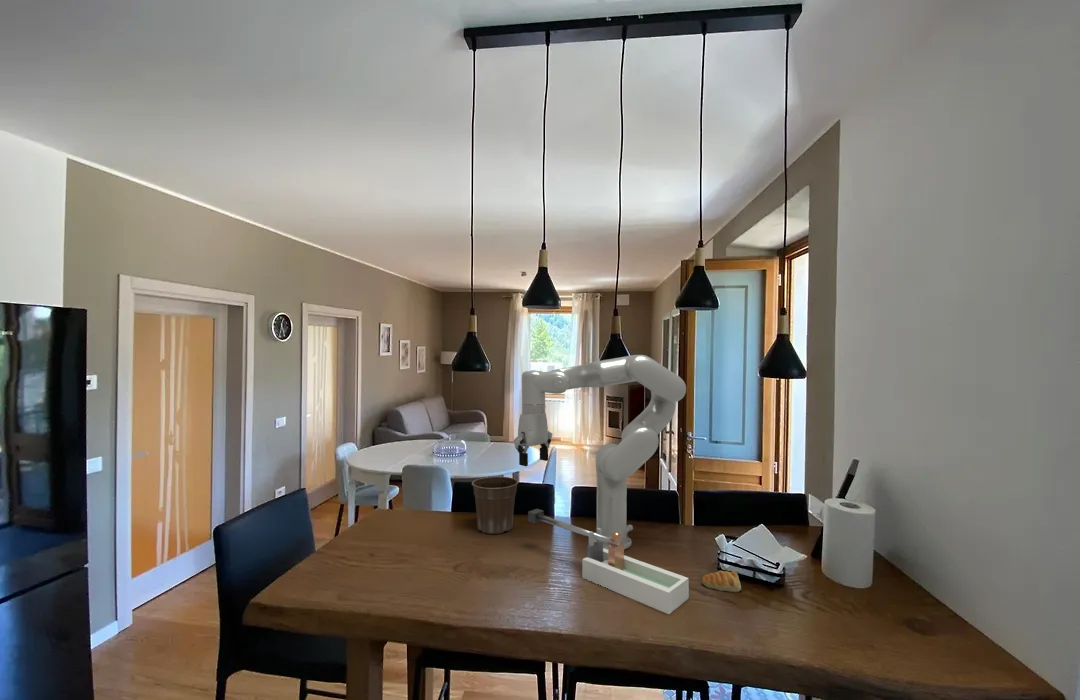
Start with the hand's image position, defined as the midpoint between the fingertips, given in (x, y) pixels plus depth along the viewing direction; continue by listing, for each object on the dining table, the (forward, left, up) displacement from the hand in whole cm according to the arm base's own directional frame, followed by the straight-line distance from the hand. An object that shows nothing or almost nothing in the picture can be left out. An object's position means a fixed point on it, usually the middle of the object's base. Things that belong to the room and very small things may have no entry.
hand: (534, 462), depth 147 cm
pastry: (-15, +54, -26) cm, 62 cm away
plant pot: (0, -20, -26) cm, 33 cm away
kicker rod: (+2, +18, -23) cm, 29 cm away
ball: (+2, +30, -25) cm, 40 cm away
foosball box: (+2, +38, -26) cm, 46 cm away
